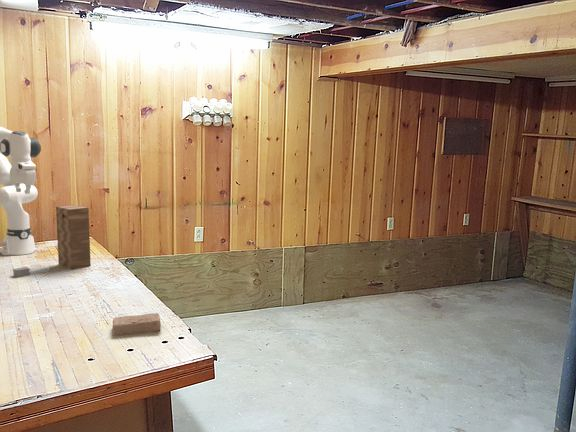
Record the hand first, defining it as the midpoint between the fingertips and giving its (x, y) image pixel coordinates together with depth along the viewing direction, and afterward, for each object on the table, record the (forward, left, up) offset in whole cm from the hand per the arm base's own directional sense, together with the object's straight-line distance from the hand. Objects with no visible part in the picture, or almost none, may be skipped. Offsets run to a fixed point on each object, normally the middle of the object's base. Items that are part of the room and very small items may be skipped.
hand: (22, 192), depth 257 cm
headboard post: (+10, +20, -39) cm, 45 cm away
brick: (+109, -12, -40) cm, 117 cm away
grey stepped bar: (+10, -2, -39) cm, 41 cm away
